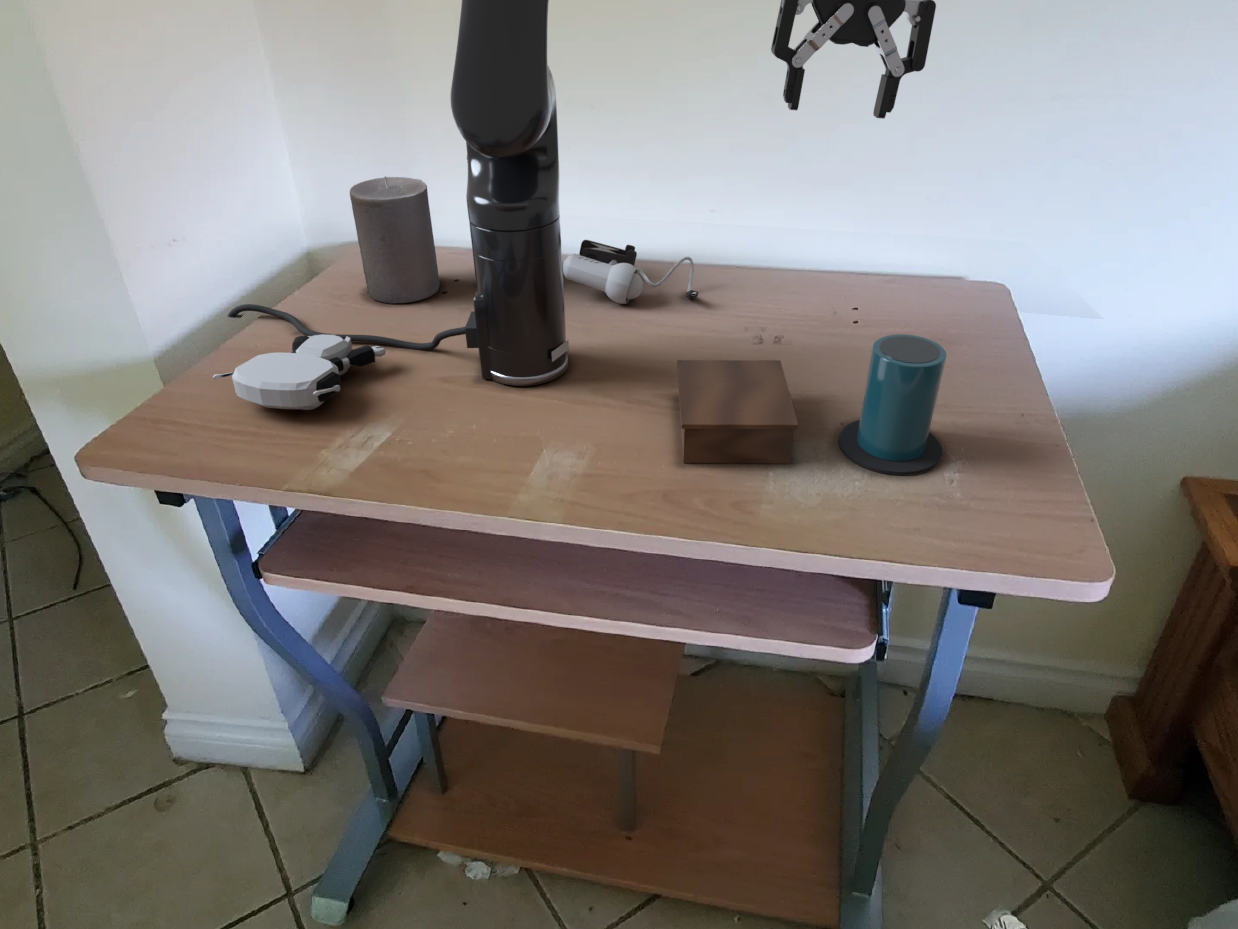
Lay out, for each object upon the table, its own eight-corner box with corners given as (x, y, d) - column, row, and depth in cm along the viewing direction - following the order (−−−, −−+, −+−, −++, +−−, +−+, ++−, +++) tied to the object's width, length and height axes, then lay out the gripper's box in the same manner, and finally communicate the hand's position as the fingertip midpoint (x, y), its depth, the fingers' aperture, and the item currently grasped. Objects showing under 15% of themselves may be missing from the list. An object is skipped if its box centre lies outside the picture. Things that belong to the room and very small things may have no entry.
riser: (680, 465, 81) (681, 424, 78) (676, 397, 91) (677, 359, 89) (793, 465, 80) (798, 424, 78) (776, 398, 91) (780, 360, 88)
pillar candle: (352, 293, 115) (329, 180, 106) (406, 270, 121) (388, 161, 113) (403, 310, 110) (383, 193, 102) (456, 285, 117) (442, 173, 108)
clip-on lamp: (701, 302, 118) (579, 262, 120) (714, 259, 115) (588, 218, 117) (684, 331, 108) (552, 287, 110) (698, 284, 105) (561, 240, 107)
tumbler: (864, 461, 80) (881, 365, 74) (850, 425, 85) (866, 333, 80) (933, 461, 80) (956, 366, 74) (915, 425, 85) (935, 333, 80)
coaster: (849, 475, 79) (849, 471, 79) (830, 420, 87) (831, 417, 87) (954, 475, 79) (955, 472, 79) (926, 420, 87) (926, 417, 86)
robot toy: (304, 357, 101) (216, 412, 89) (297, 321, 99) (206, 372, 87) (396, 372, 98) (318, 430, 86) (391, 334, 96) (310, 389, 84)
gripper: (801, -92, 72) (768, 113, 81) (968, -76, 72) (918, 127, 81) (788, -90, 79) (759, 100, 87) (942, -75, 79) (898, 112, 87)
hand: (835, 112), depth 84 cm, fingers open, 8 cm apart
